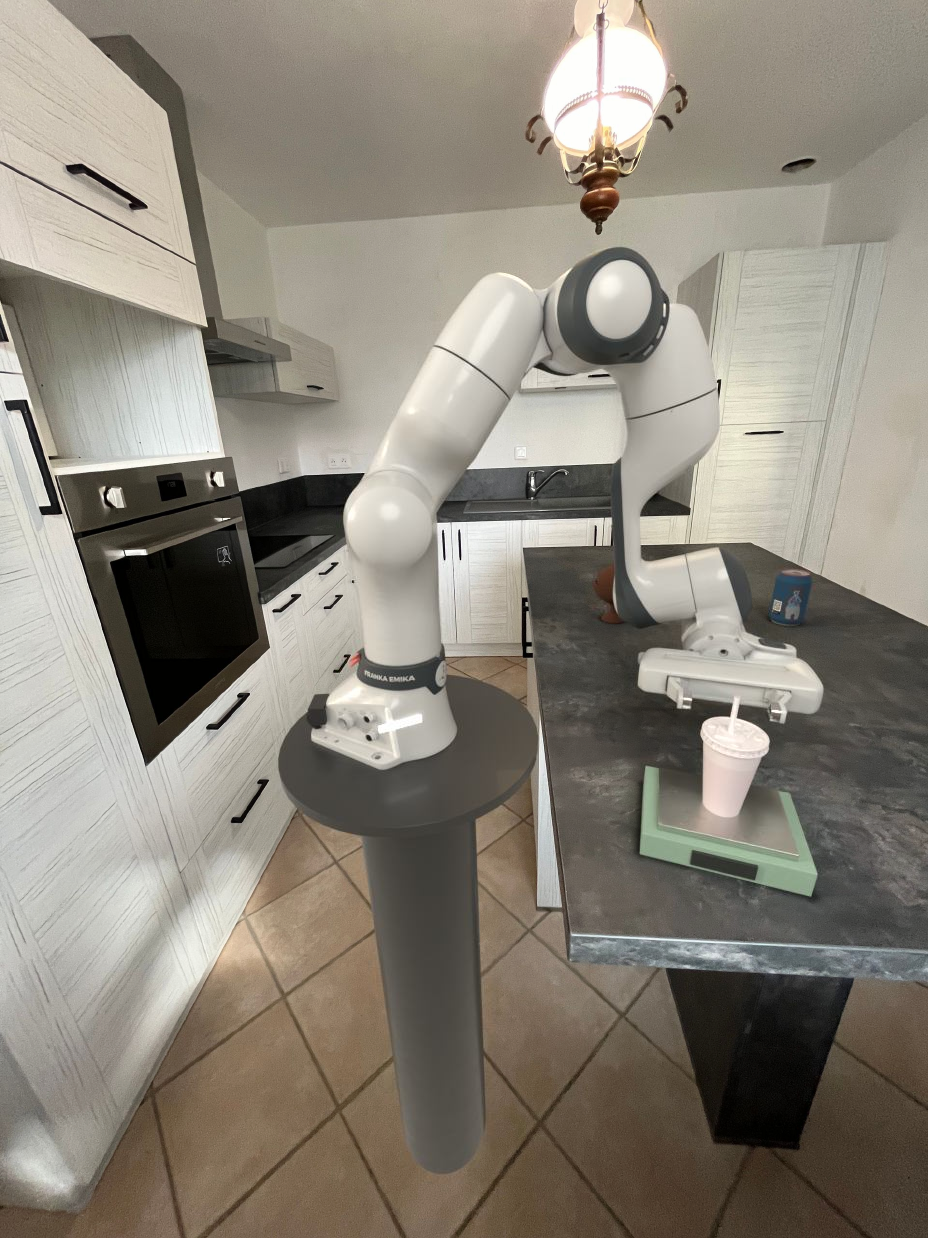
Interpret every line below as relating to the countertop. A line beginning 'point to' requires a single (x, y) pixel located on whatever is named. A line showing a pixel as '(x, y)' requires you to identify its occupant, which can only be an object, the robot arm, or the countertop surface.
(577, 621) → the countertop surface
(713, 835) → the scale pan
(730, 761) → the smoothie
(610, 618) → the ice cream bowl
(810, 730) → the countertop surface
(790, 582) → the soda can
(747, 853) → the kitchen scale
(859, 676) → the countertop surface
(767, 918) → the countertop surface
